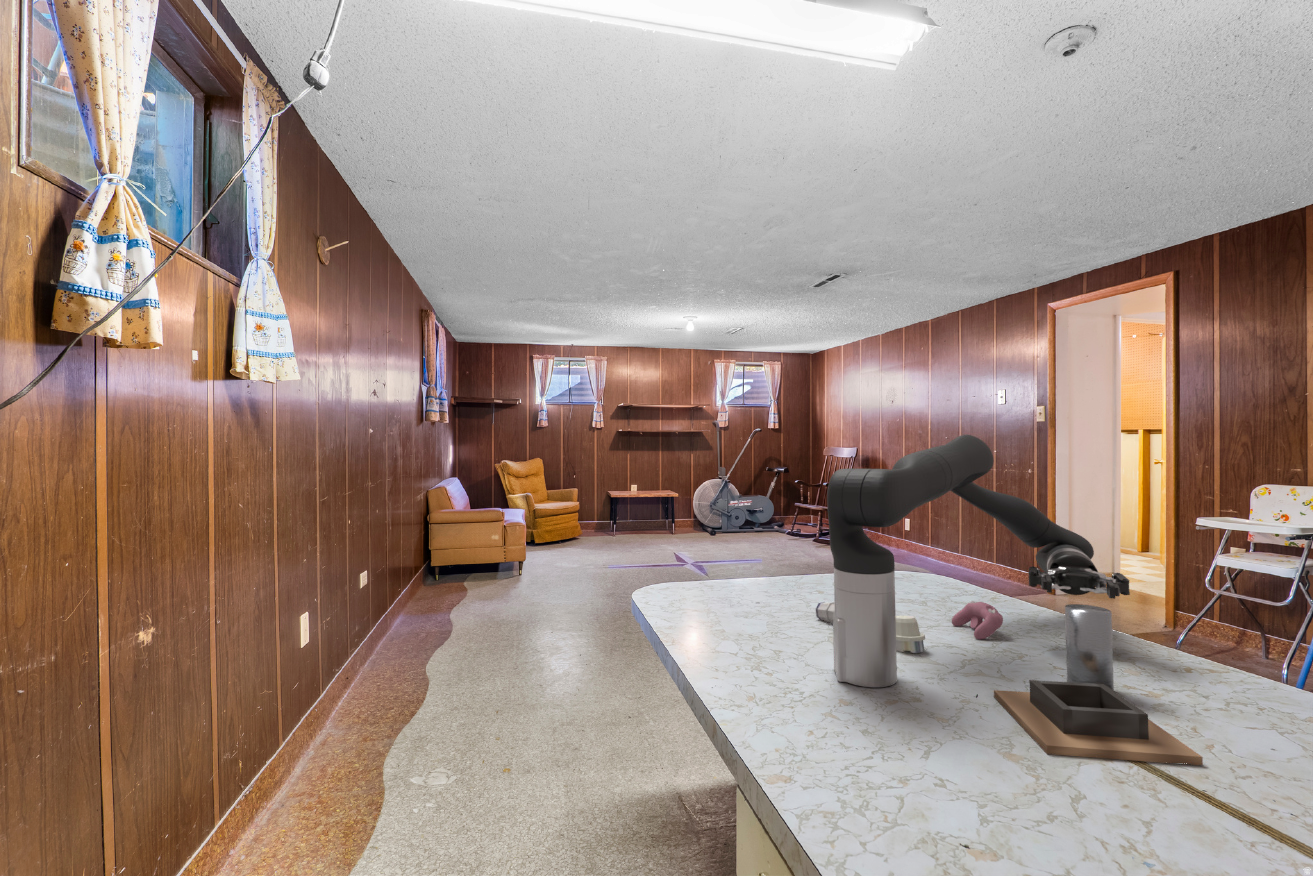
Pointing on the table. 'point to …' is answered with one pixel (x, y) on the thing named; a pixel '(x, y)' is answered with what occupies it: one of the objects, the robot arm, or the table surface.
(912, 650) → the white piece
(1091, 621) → the grey metal cylinder
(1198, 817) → the table surface
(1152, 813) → the table surface
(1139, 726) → the wooden board with frame
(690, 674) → the table surface
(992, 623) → the video game controller
